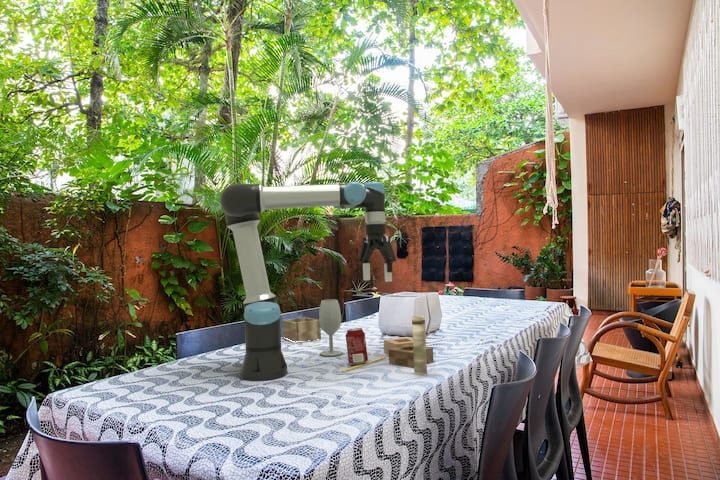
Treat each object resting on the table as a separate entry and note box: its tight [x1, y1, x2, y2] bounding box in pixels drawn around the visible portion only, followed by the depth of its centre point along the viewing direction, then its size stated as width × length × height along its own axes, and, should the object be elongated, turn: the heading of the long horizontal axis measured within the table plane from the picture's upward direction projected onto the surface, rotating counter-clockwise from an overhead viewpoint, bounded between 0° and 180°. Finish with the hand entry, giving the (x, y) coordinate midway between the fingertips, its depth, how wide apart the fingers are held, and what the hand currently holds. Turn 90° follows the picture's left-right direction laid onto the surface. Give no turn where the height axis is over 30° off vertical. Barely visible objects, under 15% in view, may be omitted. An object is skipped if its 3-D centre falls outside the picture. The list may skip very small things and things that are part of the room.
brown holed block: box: [388, 344, 434, 369], centre depth 175 cm, size 11×11×5 cm
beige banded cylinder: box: [411, 315, 428, 376], centre depth 160 cm, size 4×4×18 cm
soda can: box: [345, 327, 369, 366], centre depth 176 cm, size 7×7×12 cm
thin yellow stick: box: [340, 356, 387, 373], centre depth 175 cm, size 24×1×1 cm, turn 142°
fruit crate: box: [282, 316, 322, 342], centre depth 230 cm, size 13×14×9 cm
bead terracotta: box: [383, 336, 413, 356], centre depth 191 cm, size 11×11×5 cm
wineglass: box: [318, 299, 344, 357], centre depth 195 cm, size 9×9×21 cm
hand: (377, 281), depth 187 cm, fingers open, 13 cm apart
